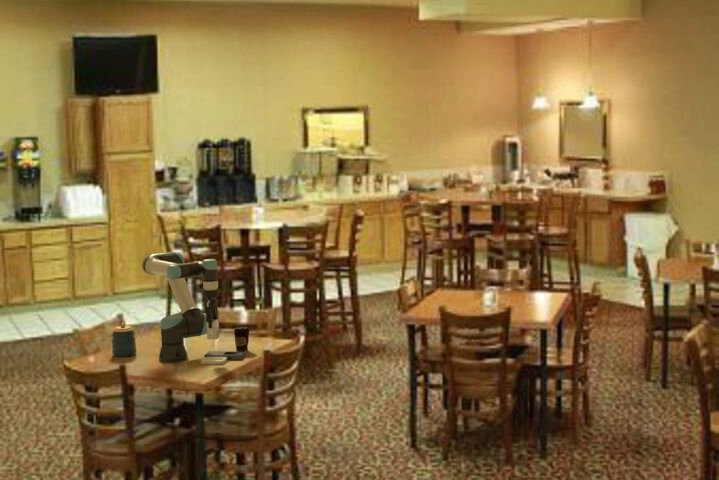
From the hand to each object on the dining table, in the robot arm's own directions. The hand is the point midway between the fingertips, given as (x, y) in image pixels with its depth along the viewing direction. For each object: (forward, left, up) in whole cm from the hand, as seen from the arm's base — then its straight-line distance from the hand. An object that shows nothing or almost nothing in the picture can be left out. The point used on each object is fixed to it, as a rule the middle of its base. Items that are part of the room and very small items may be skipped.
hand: (212, 332), depth 526 cm
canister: (-55, +14, -16) cm, 59 cm away
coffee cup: (+8, +26, -16) cm, 32 cm away
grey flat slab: (+3, +10, -16) cm, 19 cm away
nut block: (0, 0, -3) cm, 3 cm away
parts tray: (0, 0, -16) cm, 16 cm away
